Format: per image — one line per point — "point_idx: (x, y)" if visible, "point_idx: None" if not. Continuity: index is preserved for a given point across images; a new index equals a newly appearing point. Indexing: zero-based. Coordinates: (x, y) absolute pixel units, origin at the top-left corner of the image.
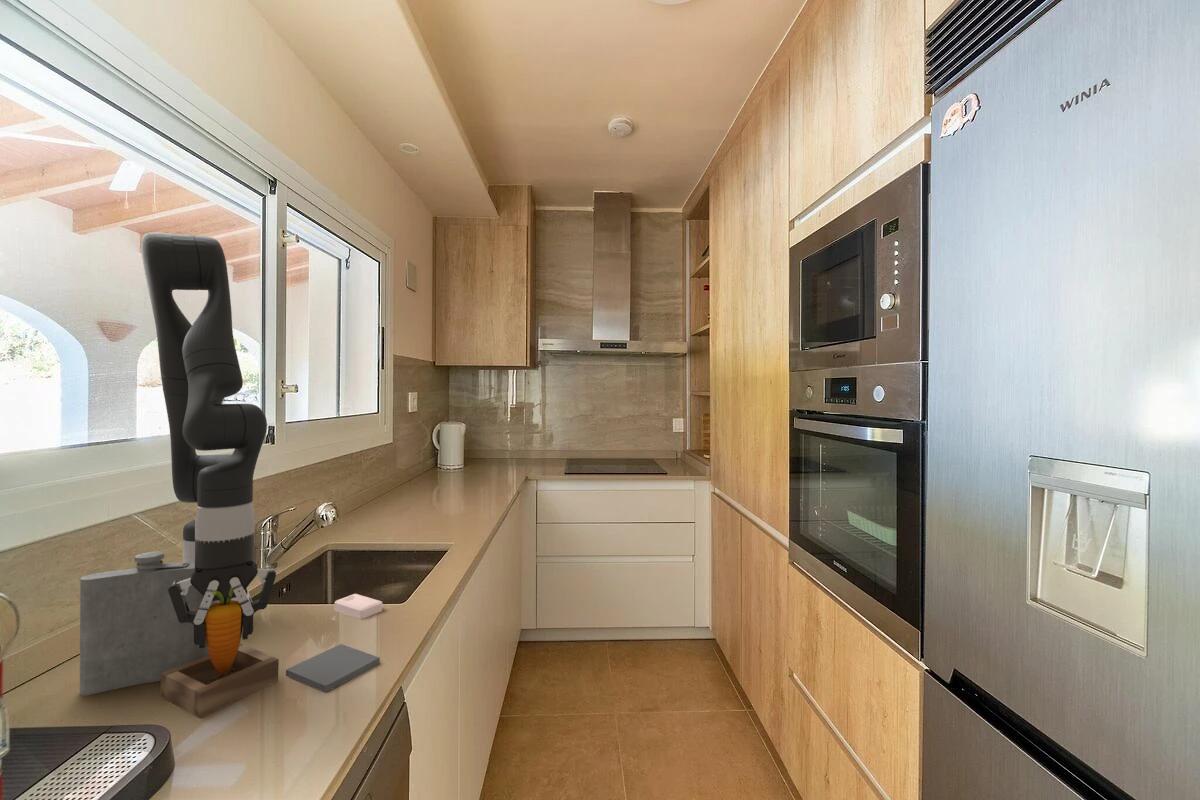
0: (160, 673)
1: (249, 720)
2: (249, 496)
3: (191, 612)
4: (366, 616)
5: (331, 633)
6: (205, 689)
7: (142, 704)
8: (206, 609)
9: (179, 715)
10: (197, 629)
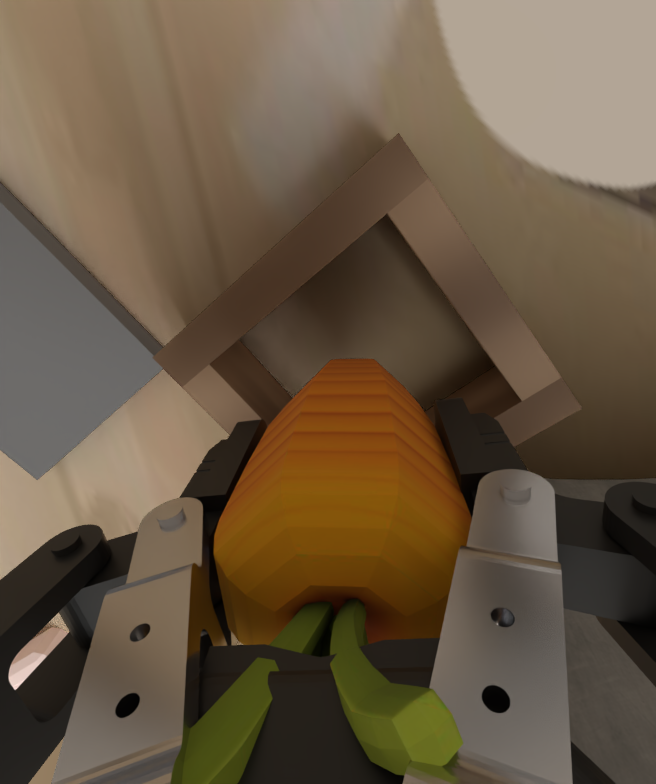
0: (567, 493)
1: (206, 44)
2: None
3: (597, 585)
4: (43, 633)
5: None
6: (383, 165)
7: (594, 339)
8: (478, 550)
9: (466, 202)
10: (500, 465)
